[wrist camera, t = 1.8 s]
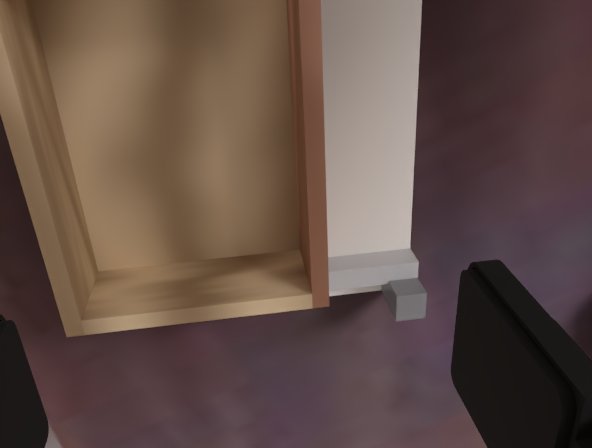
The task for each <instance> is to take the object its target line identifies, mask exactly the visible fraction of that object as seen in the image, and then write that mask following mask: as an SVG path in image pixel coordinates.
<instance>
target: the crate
mask: <svg viewBox="0 0 592 448" xmlns="http://www.w3.org/2000/svg"><path fill="white" fill-rule="evenodd" d="M0 114H1V118H2V121H3V124H4V128H5V131H6V135H7V138H8V141H9V145H10V148H11V151H12V155H13V158H14V162H15V165H16V168H17V172H18V175H19V178H20V182H21V185H22V188H23V192H24V195H25V199H26V202H27V205H28V209H29V212H30V215H31V219H32V222H33V226H34V229H35V232H36V236H37V239H38V242H39V246H40V249H41V252H42V256H43V259H44V263H45V266H46V269H47V273H48V276H49V279H50V283H51V286H52V290H53V293H54V296H55V300H56V303H57V306H58V310H59V313H60V316H61V320H62V323H63V327H64V330H65V333H66V337H73V336H81V335H90V334H99V333H107V332H116V331H124V330H133V329H141V328H150V327H158V326H167V325H175V324H184V323H192V322H201V321H209V320H218V319H226V318H235V317H243V316H252V315H261V314H269V313H278V312H286V311H295V310H303V309H312V308H320V307H329V270H328V235H327V200H326V165H325V130H324V95H323V60H322V25H321V0H0Z"/></svg>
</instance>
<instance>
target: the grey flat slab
mask: <svg viewBox="0 0 592 448" xmlns="http://www.w3.org/2000/svg"><path fill="white" fill-rule="evenodd" d="M421 12H422V0H321V25H322V60H323V95H324V130H325V165H326V200H327V235H328V270H329V296H336V295H344V294H353V293H362V292H370V291H379V290H381V291H382V293H383V295H384V297H385V299H386V301H387V303H388V305H389V308H390V310H391V312H392V314H393V316H394V318H395V320H396V321H403V320H412V319H420V318H425V313H426V298H427V292H426V291H425V289H424V287H423V286H422V284H421V282H420V281H419V279H418V264H419V262H418V260H417V259H416V257H415V255H414V254H413V252H412V251H411V249H410V240H411V220H412V199H413V178H414V157H415V137H416V116H417V95H418V74H419V54H420V33H421Z"/></svg>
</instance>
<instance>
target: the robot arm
mask: <svg viewBox="0 0 592 448" xmlns="http://www.w3.org/2000/svg"><path fill="white" fill-rule="evenodd" d="M451 376H452V380H453V384H454V386H455V388H456V390H457V392H458V394H459V395H460V397H461V399H462V401H463V403H464V405H465V407H466V408H467V410H468V412H469V414H470V416H471V418H472V420H473V422H474V423H475V425H476V427H477V429H478V431H479V433H480V435H481V436H482V438H483V440H484V442H485V444H486V446H487V448H592V361H591V360H590V359H589V357H588V356H587V355H586V354H585V353H584V352H583V351H582V350H581V349H580V347H579V346H578V345H577V344H576V343H575V342H574V341H573V340H572V338H571V337H570V336H569V335H568V334H567V333H566V332H565V331H564V330H563V328H562V327H561V326H560V325H559V324H558V323H557V322H556V321H555V320H554V319H553V318H551V317H550V315H549V314H548V313H547V312H546V311H545V310H544V309H543V308H542V306H541V305H540V304H539V303H538V302H537V301H536V300H535V299H534V297H533V296H532V295H531V294H530V293H529V292H528V291H527V290H526V289H525V287H524V286H523V285H522V284H521V283H520V282H519V281H518V280H517V278H516V277H515V276H514V275H513V274H512V273H511V272H510V271H509V269H508V268H507V267H506V266H505V265H504V264H503V263H502V262H501V261H500V260H489V261H480V262H472V263H471V264H470V265H469V267H468V270H463V271H462V273H461V276H460V285H459V295H458V305H457V315H456V324H455V334H454V344H453V353H452V363H451ZM47 438H48V420H47V417H46V414H45V411H44V408H43V405H42V402H41V399H40V396H39V393H38V390H37V387H36V384H35V381H34V378H33V375H32V372H31V369H30V366H29V363H28V360H27V357H26V354H25V351H24V348H23V345H22V342H21V339H20V336H19V333H18V331H17V328H16V325H15V323H14V322H13V321H11V320H8V321H6V320H5V318H4V317H3V316H2V315H0V448H44V447H45V444H46V442H47Z"/></svg>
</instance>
